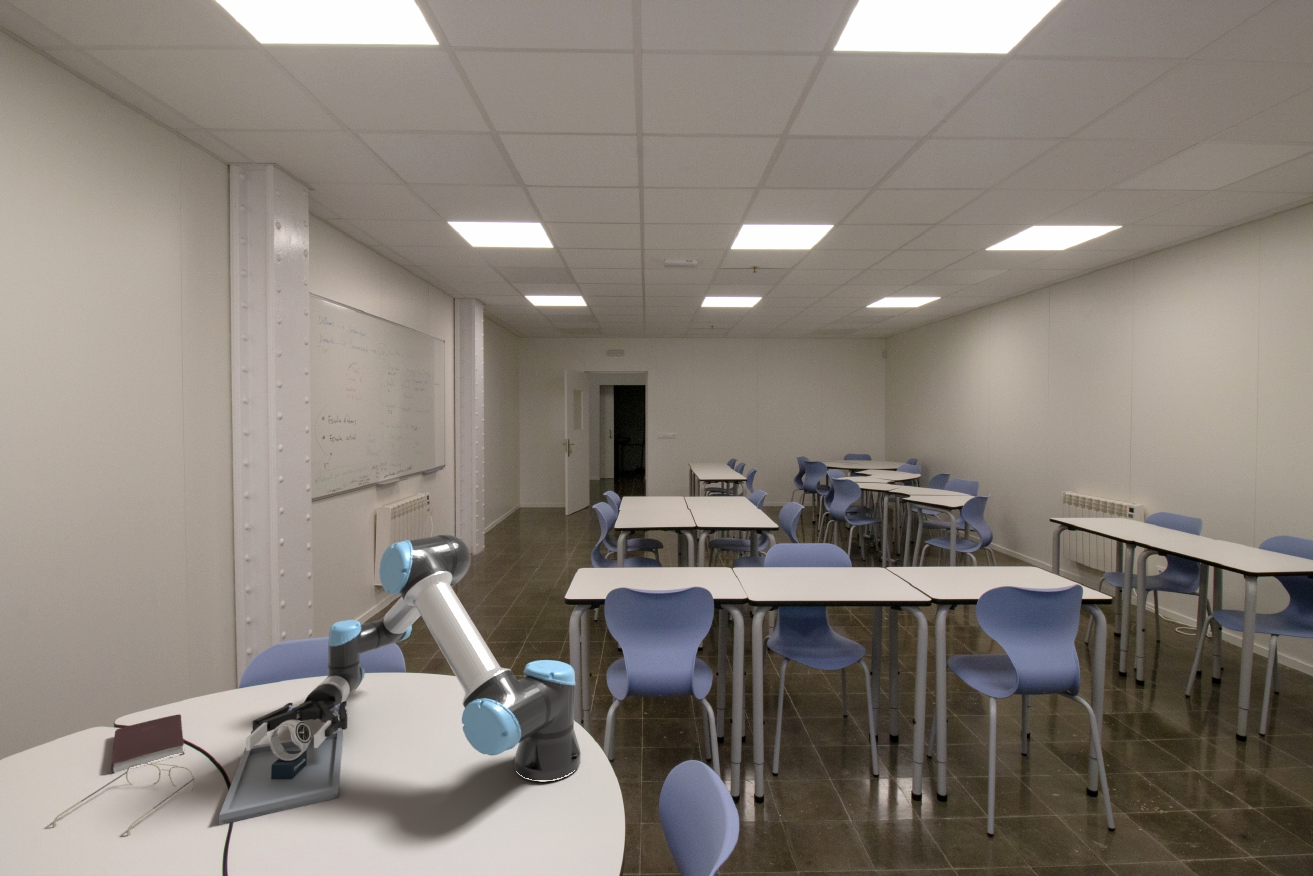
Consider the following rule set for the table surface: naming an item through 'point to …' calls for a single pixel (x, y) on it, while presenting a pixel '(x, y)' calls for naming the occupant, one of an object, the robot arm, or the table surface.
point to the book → (147, 742)
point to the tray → (283, 780)
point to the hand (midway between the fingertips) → (282, 743)
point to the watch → (290, 760)
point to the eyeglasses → (131, 783)
